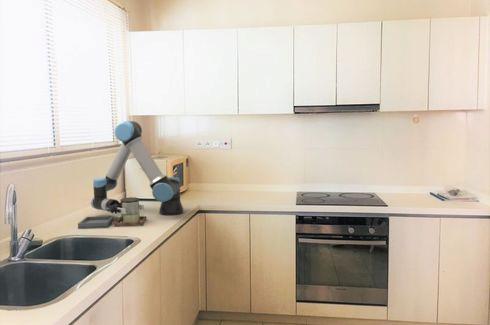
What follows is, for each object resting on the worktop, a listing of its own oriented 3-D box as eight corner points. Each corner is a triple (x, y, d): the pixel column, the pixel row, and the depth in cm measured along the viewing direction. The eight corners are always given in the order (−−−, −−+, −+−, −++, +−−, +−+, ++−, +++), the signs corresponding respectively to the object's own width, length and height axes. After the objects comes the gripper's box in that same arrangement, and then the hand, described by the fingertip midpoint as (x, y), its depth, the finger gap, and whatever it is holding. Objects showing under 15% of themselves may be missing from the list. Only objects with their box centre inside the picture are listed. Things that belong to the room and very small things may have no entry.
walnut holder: (146, 219, 246) (146, 216, 245) (142, 225, 230) (142, 222, 230) (120, 220, 244) (120, 217, 244) (114, 226, 229) (114, 223, 229)
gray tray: (114, 220, 243) (114, 215, 243) (107, 227, 227) (107, 222, 227) (86, 221, 242) (86, 216, 242) (78, 228, 226) (77, 223, 226)
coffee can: (118, 223, 237) (116, 199, 235) (133, 219, 245) (132, 196, 243) (128, 226, 230) (127, 201, 229) (143, 222, 238) (142, 198, 236)
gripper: (127, 207, 257) (150, 211, 245) (93, 215, 237) (117, 220, 225) (126, 195, 256) (150, 199, 244) (92, 202, 236) (116, 206, 224)
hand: (134, 209), depth 234 cm, fingers open, 12 cm apart
